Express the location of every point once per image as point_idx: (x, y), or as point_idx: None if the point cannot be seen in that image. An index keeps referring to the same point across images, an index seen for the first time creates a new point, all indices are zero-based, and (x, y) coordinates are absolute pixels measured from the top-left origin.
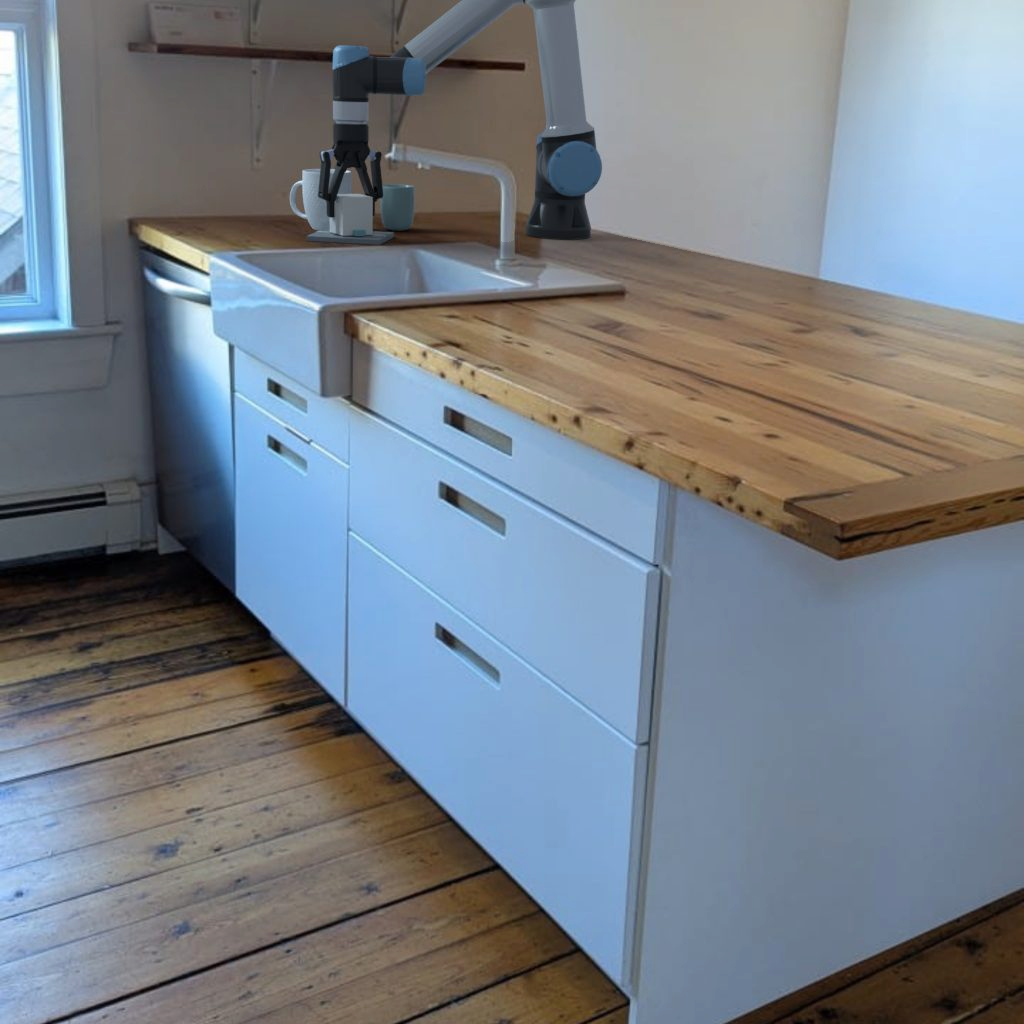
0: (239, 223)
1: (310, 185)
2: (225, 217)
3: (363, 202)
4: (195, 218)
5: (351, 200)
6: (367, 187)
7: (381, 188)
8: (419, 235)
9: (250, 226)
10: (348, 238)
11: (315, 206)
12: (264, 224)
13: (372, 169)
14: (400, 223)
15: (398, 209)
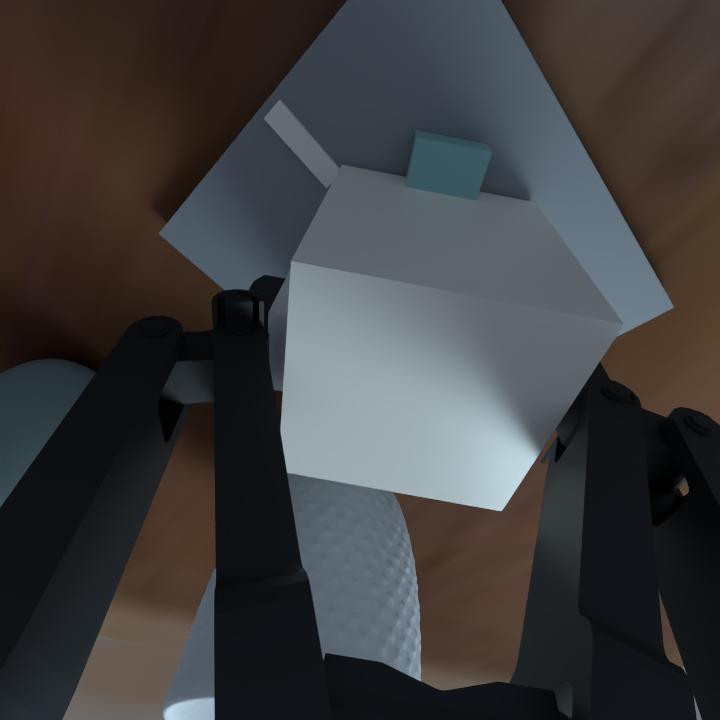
0: (481, 615)
1: (418, 660)
2: (436, 659)
3: (396, 258)
4: (505, 669)
5: (524, 289)
6: (270, 405)
7: (114, 369)
8: (16, 219)
9: (499, 584)
10: (564, 116)
11: (405, 550)
12: (436, 590)
13: (88, 611)
14: (62, 369)
15: (29, 413)
